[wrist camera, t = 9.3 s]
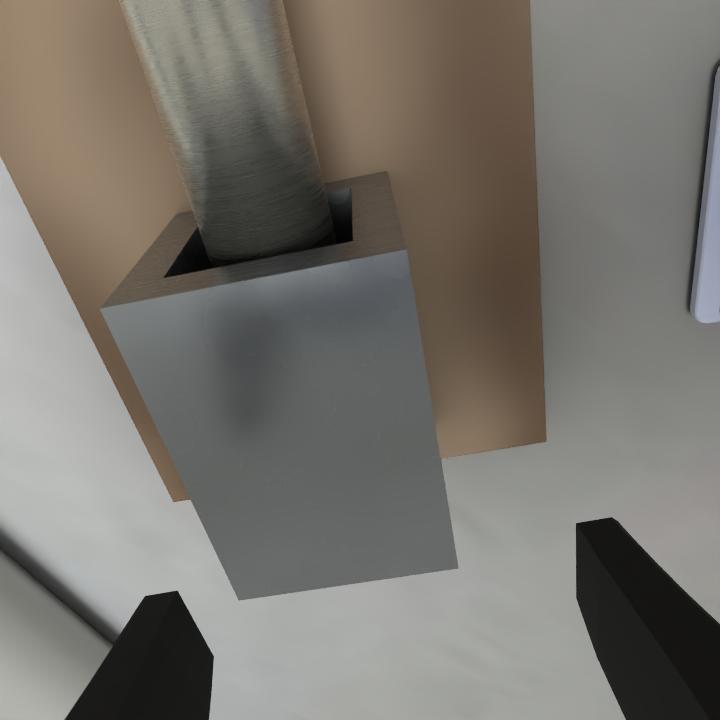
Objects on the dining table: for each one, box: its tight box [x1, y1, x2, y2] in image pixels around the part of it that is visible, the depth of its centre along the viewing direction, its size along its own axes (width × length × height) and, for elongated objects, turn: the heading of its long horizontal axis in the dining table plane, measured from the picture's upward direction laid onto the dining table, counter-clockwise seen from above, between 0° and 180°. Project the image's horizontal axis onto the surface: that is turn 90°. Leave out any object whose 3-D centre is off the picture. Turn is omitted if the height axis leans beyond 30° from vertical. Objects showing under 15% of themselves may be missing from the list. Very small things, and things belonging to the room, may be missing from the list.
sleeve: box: [100, 171, 458, 600], centre depth 16 cm, size 6×9×6 cm, turn 11°
